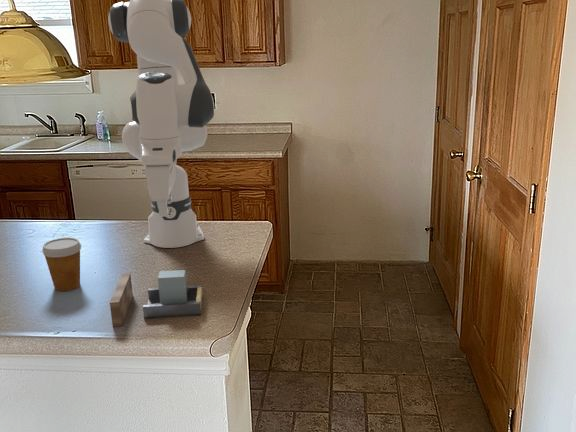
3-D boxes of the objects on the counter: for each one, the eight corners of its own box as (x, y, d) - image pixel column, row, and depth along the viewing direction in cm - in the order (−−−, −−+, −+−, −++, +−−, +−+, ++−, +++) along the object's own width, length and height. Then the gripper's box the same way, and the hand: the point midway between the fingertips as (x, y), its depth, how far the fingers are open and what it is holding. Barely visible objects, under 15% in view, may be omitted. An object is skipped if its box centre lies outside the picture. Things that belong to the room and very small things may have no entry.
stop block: (162, 301, 139) (159, 271, 137) (187, 300, 140) (185, 269, 137) (160, 309, 135) (157, 278, 133) (186, 307, 136) (184, 276, 133)
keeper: (149, 299, 142) (148, 288, 141) (202, 296, 143) (201, 285, 142) (144, 318, 132) (142, 306, 131) (200, 315, 133) (200, 303, 132)
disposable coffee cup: (89, 277, 155) (83, 235, 152) (83, 292, 146) (77, 248, 143) (52, 280, 154) (45, 238, 150) (44, 295, 145) (37, 251, 141)
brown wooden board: (124, 295, 144) (122, 273, 142) (132, 295, 144) (130, 273, 142) (112, 326, 129) (109, 302, 127) (121, 326, 129) (118, 302, 127)
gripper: (152, 140, 135) (157, 196, 140) (139, 159, 116) (145, 224, 120) (179, 139, 136) (183, 195, 140) (171, 158, 117) (176, 222, 121)
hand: (166, 209), depth 130 cm, fingers open, 8 cm apart
